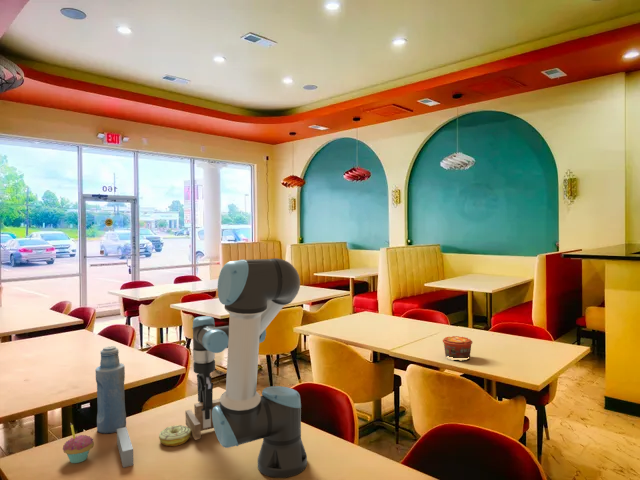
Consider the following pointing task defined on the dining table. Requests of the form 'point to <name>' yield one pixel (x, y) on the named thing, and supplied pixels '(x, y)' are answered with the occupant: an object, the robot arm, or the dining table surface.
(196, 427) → the pusher
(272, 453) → the robot arm
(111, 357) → the bottle
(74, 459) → the cupcake
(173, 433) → the decorated donut
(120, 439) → the backstop
